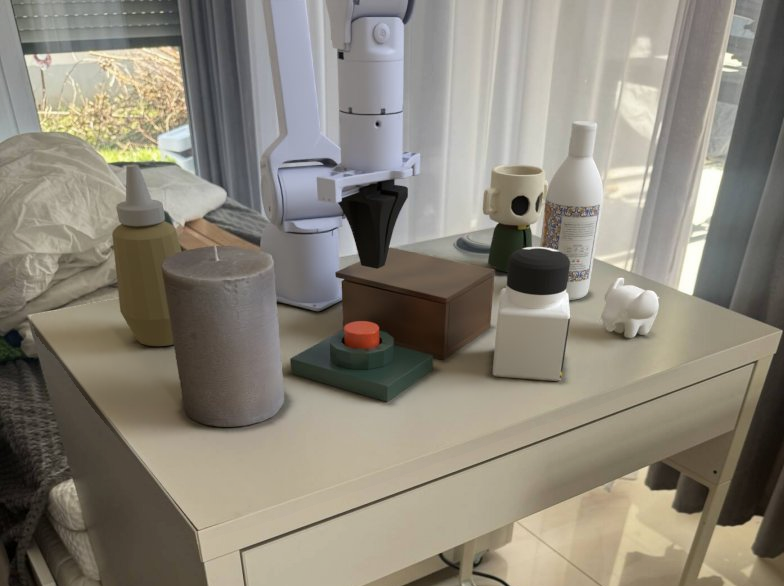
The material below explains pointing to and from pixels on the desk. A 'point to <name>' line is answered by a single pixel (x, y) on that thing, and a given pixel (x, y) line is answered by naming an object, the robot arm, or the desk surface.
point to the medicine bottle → (533, 316)
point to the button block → (363, 366)
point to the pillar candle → (225, 333)
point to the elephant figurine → (629, 309)
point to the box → (421, 316)
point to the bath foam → (575, 208)
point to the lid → (419, 275)
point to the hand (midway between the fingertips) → (372, 265)
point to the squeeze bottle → (143, 261)
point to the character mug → (513, 209)
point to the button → (361, 334)
